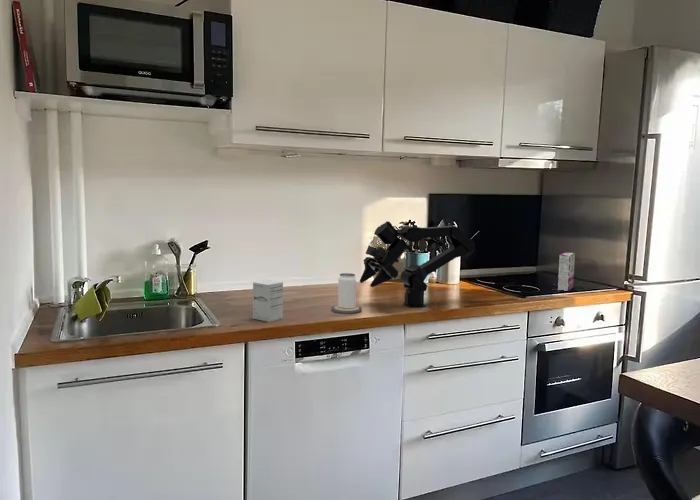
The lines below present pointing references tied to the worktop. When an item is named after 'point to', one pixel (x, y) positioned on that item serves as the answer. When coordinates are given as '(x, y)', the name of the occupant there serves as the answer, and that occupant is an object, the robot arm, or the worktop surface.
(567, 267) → the candy bar box
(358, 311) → the trivet
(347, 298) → the can
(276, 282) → the supplement box
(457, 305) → the worktop surface
